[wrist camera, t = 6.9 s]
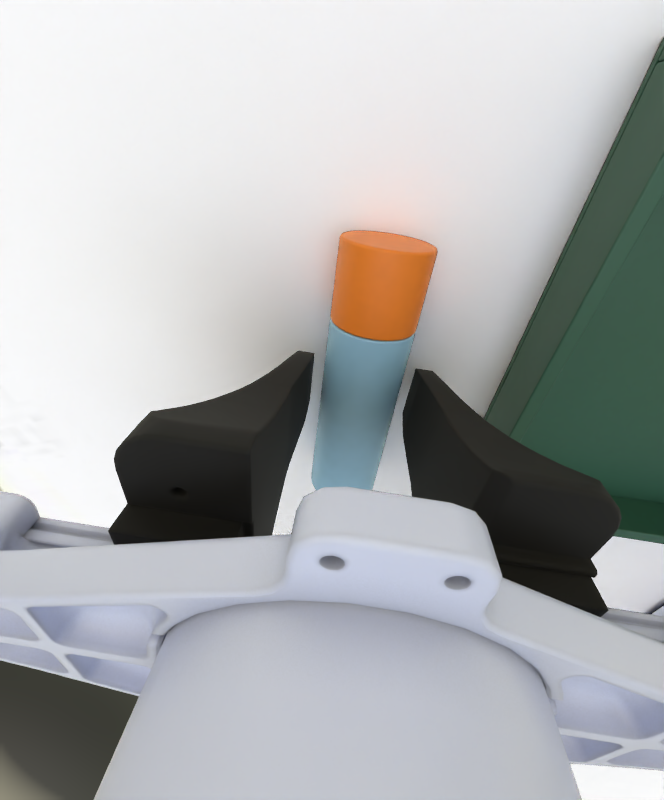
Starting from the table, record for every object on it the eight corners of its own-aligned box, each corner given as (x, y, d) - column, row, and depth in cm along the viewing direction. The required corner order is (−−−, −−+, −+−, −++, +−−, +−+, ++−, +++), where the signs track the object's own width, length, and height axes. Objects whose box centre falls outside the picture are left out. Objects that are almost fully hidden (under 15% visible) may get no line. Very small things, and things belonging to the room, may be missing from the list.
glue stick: (371, 461, 17) (374, 508, 14) (314, 453, 17) (308, 500, 14) (429, 238, 11) (447, 258, 9) (342, 225, 11) (337, 242, 9)
